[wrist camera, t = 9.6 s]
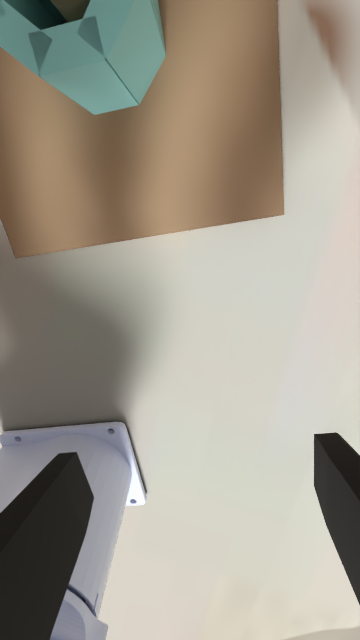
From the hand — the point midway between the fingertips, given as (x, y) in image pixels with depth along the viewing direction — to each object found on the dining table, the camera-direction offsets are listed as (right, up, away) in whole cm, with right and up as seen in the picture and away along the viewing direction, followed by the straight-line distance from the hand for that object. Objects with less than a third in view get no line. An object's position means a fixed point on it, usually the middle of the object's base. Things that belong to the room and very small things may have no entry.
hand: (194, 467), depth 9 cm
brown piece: (-4, +16, +4) cm, 17 cm away
